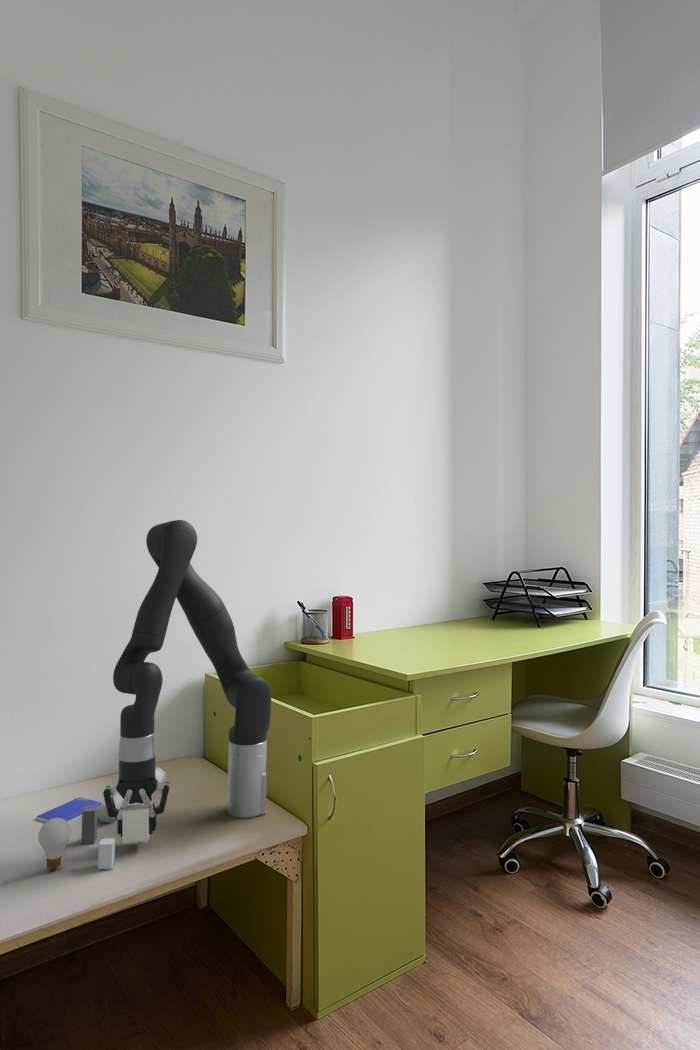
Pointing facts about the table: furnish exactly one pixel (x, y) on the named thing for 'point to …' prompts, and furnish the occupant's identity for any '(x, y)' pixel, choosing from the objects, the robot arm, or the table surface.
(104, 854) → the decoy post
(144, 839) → the off-white rectangular block
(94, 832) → the post
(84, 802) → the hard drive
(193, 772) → the table surface
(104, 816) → the tube
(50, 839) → the light bulb
